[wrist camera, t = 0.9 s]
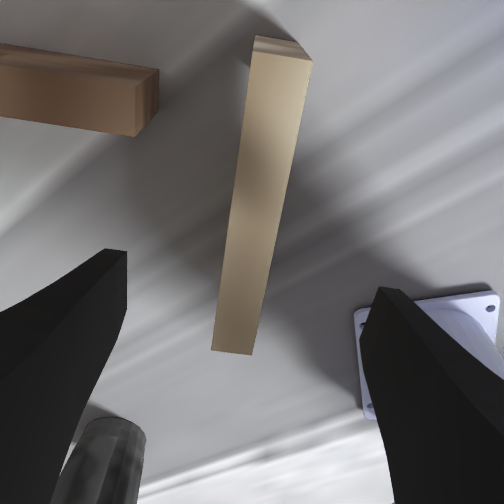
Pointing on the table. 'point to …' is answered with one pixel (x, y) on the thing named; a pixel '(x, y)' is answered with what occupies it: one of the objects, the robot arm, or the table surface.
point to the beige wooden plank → (259, 187)
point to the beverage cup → (103, 465)
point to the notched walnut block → (76, 91)
